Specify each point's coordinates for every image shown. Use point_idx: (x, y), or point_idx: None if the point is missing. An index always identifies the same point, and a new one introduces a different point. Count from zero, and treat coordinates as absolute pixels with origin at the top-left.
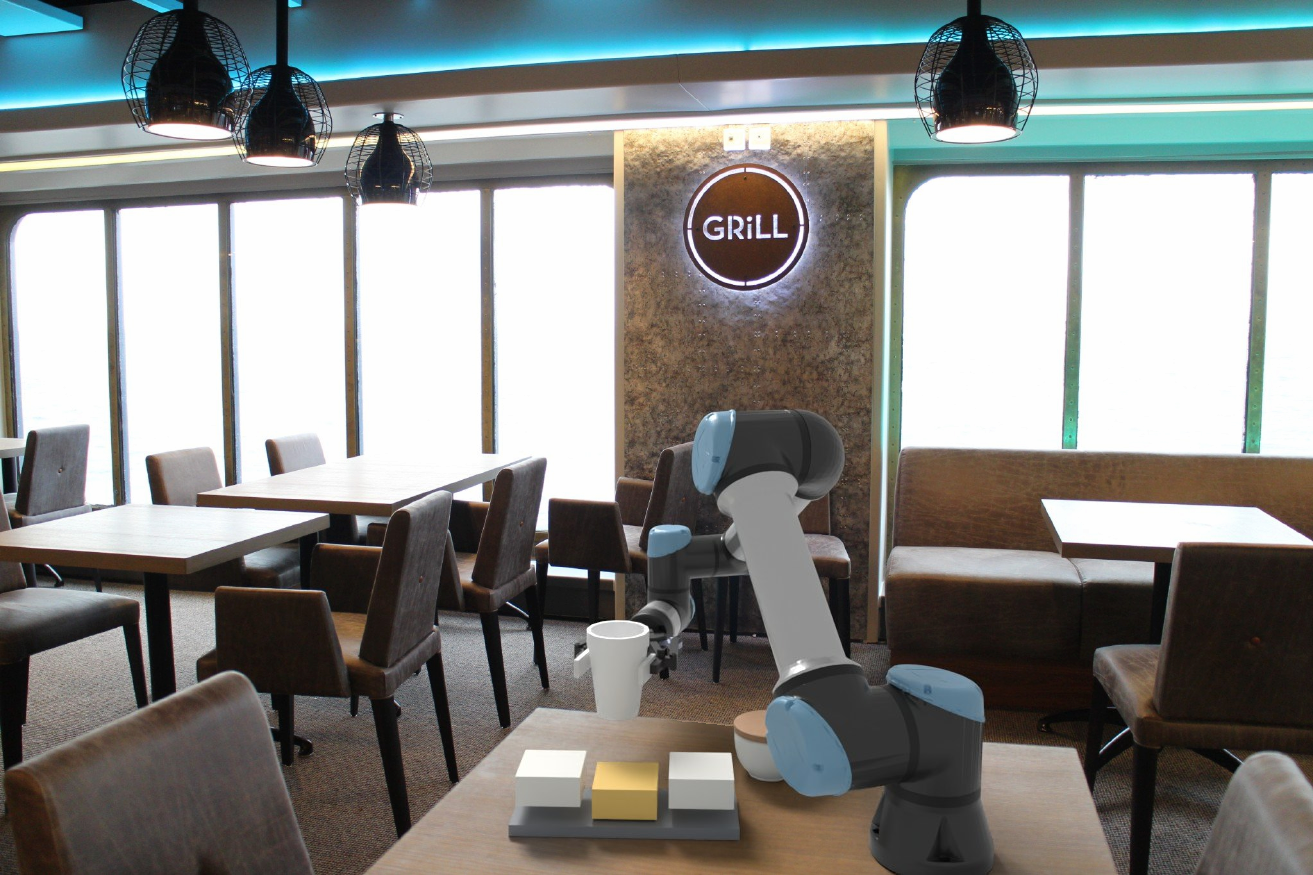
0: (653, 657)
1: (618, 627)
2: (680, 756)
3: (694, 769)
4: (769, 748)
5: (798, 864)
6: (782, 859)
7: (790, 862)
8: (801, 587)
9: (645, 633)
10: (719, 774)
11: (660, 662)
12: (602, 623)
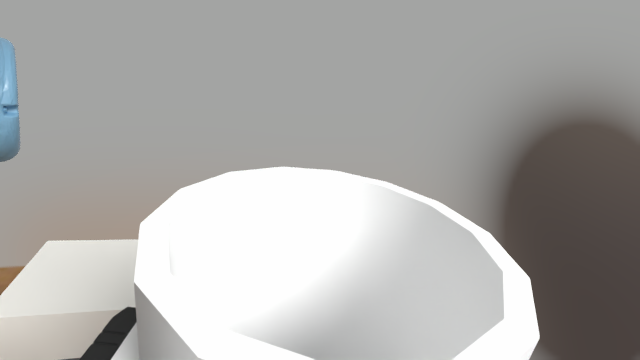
0: (124, 345)
1: None
2: (118, 294)
3: (106, 260)
4: (19, 132)
5: (2, 267)
6: (18, 273)
7: (11, 269)
8: None
9: (173, 198)
10: (66, 251)
11: (89, 348)
12: (503, 311)
